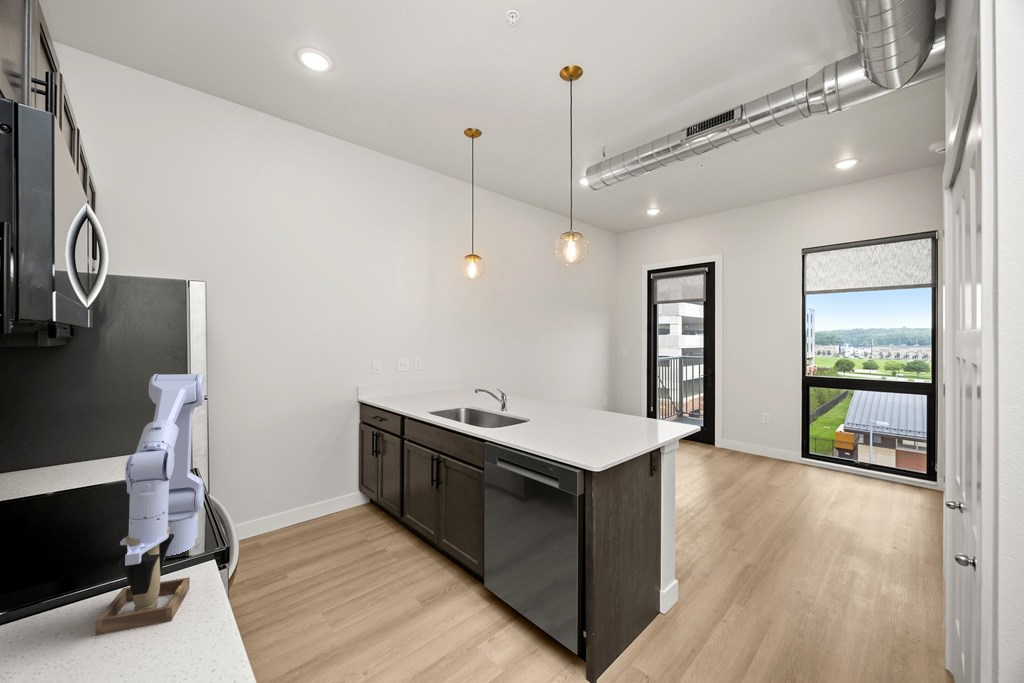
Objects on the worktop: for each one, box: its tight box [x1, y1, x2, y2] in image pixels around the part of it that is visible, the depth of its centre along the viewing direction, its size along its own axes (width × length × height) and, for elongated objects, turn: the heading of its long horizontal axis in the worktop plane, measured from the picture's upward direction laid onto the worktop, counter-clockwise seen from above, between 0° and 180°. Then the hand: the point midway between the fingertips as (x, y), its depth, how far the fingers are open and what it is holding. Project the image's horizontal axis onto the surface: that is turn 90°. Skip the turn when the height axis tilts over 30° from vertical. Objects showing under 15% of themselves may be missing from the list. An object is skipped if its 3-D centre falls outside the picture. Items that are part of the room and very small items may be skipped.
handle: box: [125, 526, 170, 612], centre depth 81 cm, size 5×6×15 cm
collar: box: [94, 577, 190, 637], centre depth 81 cm, size 11×11×3 cm
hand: (147, 584), depth 81 cm, fingers open, 6 cm apart
